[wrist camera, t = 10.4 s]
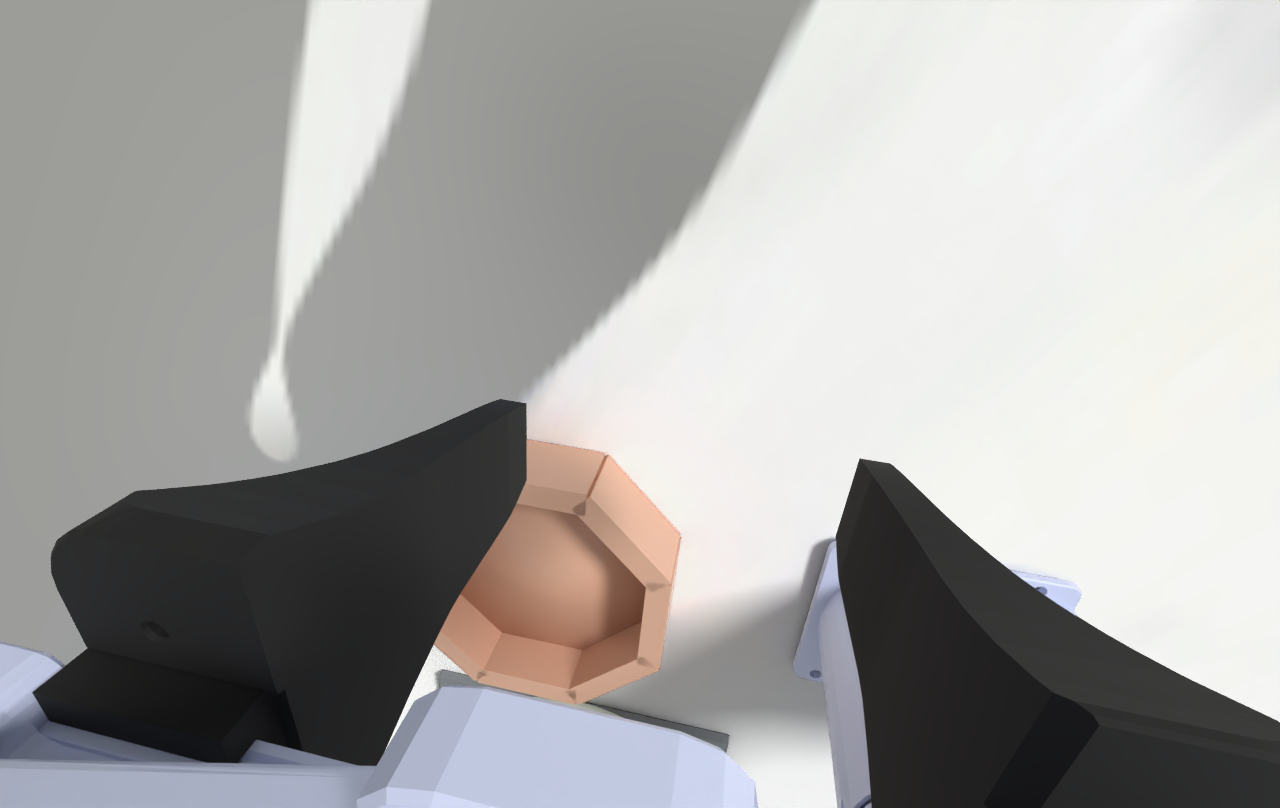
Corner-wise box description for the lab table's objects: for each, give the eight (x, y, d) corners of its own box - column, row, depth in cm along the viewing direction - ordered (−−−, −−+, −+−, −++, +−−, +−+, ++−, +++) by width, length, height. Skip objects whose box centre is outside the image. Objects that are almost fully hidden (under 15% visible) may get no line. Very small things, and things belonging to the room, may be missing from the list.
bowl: (691, 467, 24) (682, 512, 21) (661, 667, 29) (651, 722, 26) (416, 420, 25) (375, 456, 22) (437, 618, 31) (406, 666, 28)
